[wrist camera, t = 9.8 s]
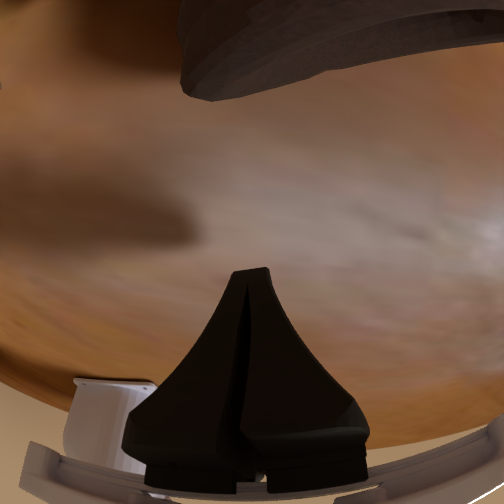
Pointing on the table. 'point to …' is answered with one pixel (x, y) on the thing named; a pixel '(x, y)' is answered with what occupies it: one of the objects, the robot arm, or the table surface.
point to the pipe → (316, 38)
